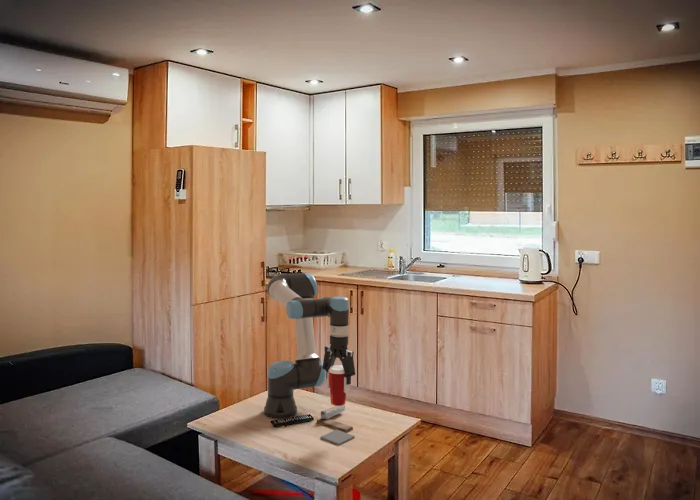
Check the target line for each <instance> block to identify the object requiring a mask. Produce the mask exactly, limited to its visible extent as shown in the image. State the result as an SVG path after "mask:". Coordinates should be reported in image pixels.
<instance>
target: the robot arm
mask: <svg viewBox="0 0 700 500" xmlns="http://www.w3.org/2000/svg"><path fill="white" fill-rule="evenodd" d="M266 292H267V294H268V296H269V297H270V298H271V299H272V300H274V301H278V302H279V303H280V304H281V305H282V306H283V307H284V308H285V310H286V315H287V317H288V318H289V319H291V320H292V319H293V320H294V325H295V326H294V327H295V339H296V347H297V357H296V358H295V360H294V362H293V361H292V360H278V361H275V362H273V363H271V364H270V365H269V366H268V369H267V398H266V401H265V405H264V407H263V414H264V416H265V417H267V418H270V419H279V420H280V419H281V420H283V418H284V419H288V418H289V417H290V418H292V417H294V416H296V415H297V414H298V407H297V405H296V401H295V400H296V399H295V397H294V390H303V389H309V388H311V389H312V388H313V389H314V388H315V387H321V386H322V385H323V384H324V382H325V378H326V387H327V389H330V376H329V369H330V367H331V366H334V364H335V362H336V360H337V358H338V359H339V361H340V363H341V364H342V365H343V369H344V372H345V375H346V376H345V377H344V393H346V394H347V393H349V392H351V391H350V390H351V389H350V385H351V384H352V377H353V376H355V375H356V369H355V362H354V352H355V351H354V350H349V349H348V345H349V336H348V334H349V316H350V315H349V313H350V312H349V311H350V306H349V305H350V304H349V301H350V300H349V298H348V297H345V296H338V295H337V296H331V297H330V296H329V297H328V296H323V297H321V298H315V297H316V296H317V294H318V284H317V281H316V278H315V276H314V275H313V274H311V273H309V272H295V273H279V274H277V275H275V276H273V277H272V278H271V279H270V280H269V281H268V283H267V285H266ZM322 317H323V318H324V317H327V318H328V317H329V334H330V335H329V345H326V346H324V355H323V360H321V357H320V356H319V355H318V354H317V349H316V340H315V329H314V321H313V319H314V318H322Z"/></svg>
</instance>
